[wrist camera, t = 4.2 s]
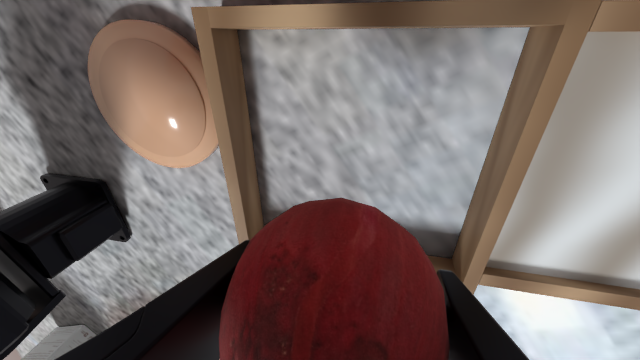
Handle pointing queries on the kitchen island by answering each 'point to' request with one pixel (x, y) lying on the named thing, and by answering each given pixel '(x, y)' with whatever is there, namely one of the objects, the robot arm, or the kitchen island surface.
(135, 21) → the saucer
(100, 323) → the kitchen island surface
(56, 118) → the kitchen island surface
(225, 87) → the wooden double frame
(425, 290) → the onion
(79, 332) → the supplement box
